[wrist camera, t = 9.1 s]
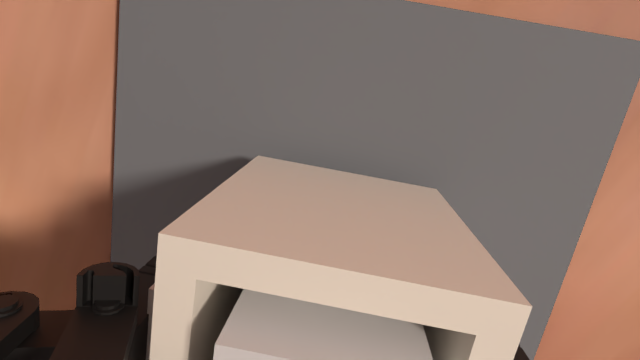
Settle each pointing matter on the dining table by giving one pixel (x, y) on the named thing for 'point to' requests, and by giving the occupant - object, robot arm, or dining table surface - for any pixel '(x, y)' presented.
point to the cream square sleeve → (331, 261)
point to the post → (367, 136)
